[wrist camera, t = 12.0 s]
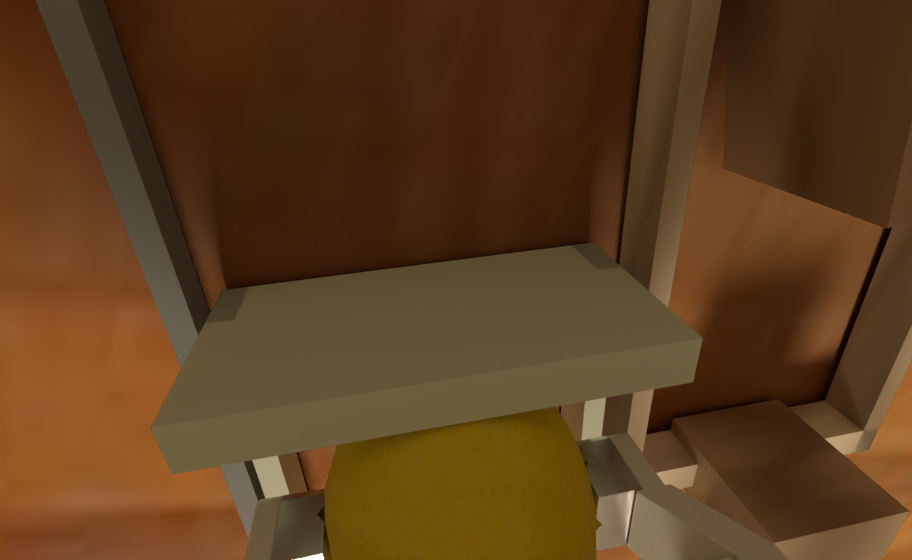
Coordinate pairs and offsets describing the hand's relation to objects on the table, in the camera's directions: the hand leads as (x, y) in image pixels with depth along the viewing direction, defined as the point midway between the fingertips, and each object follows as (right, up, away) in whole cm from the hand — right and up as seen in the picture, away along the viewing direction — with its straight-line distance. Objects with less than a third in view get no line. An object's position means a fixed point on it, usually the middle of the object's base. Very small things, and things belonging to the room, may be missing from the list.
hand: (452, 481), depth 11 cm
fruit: (-1, +2, +3) cm, 3 cm away
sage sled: (0, -3, +5) cm, 6 cm away
